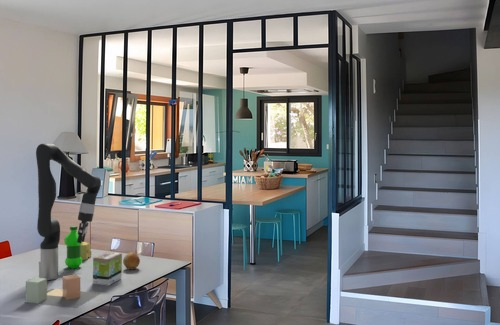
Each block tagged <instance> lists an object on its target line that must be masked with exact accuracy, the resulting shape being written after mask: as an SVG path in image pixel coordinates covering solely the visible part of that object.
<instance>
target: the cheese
mask: <svg viewBox="0 0 500 325" xmlns="http://www.w3.org/2000/svg"><path fill="white" fill-rule="evenodd" d="M88 257H89V258H91V257H92V246H91V244H90V243H89V242H87V241H84V242H82V244H81V258H82V261H87V260H89V258H88Z"/></svg>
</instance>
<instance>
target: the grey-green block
mask: <svg viewBox="0 0 500 325" xmlns="http://www.w3.org/2000/svg"><path fill="white" fill-rule="evenodd" d="M47 284H48V280H47V279H45V278H39V277H32V278H31V279H29V280H28V279H27V280H26V281H25V302H30V303H29V304H33V303H40V302H42V301H44V300H46V299H47V291H48V288H47V287H48V286H47Z"/></svg>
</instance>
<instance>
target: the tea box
mask: <svg viewBox="0 0 500 325" xmlns="http://www.w3.org/2000/svg"><path fill="white" fill-rule="evenodd" d="M92 258H93V259H92V284H93V285H103V286H110V285H111V284H114V283H116V282H118V281H119V280H121V279H122V275H123V274H122V269H123V268H122V267H123V265H122V264H123V254H122V253H121V252H112V251H111V252H109V251H107V252H103V253H101V254H98V255H97V256H94V257H92Z"/></svg>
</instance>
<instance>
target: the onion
mask: <svg viewBox="0 0 500 325" xmlns="http://www.w3.org/2000/svg"><path fill="white" fill-rule="evenodd" d="M140 263H141V259H140V257H139V255H138V254H137V253H135V252H128V253H127V254H125V256H124V257H123V259H122V264H123V265H124V267H125V268H126V269H128V270H135V269H137V268H138V267H139V265H140Z"/></svg>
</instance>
